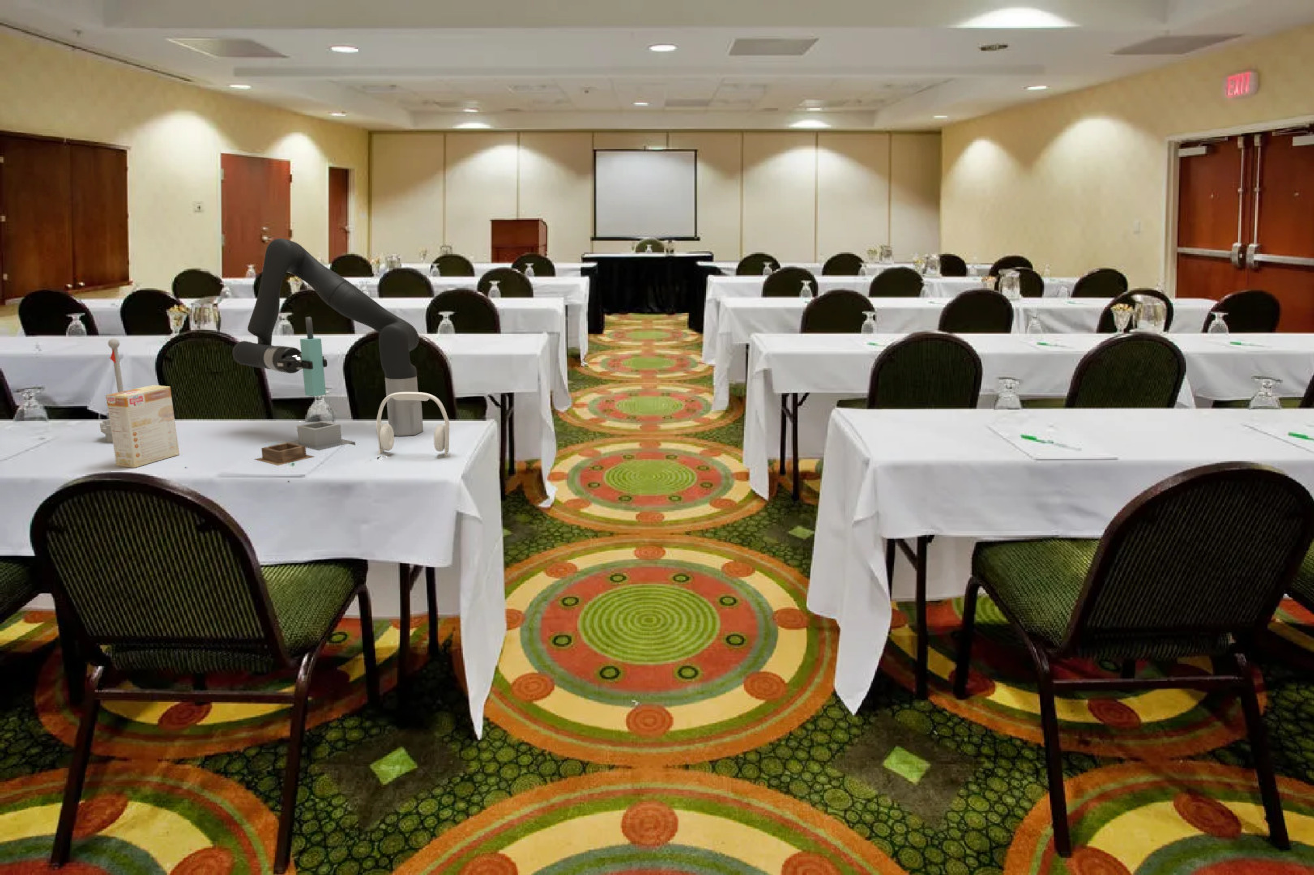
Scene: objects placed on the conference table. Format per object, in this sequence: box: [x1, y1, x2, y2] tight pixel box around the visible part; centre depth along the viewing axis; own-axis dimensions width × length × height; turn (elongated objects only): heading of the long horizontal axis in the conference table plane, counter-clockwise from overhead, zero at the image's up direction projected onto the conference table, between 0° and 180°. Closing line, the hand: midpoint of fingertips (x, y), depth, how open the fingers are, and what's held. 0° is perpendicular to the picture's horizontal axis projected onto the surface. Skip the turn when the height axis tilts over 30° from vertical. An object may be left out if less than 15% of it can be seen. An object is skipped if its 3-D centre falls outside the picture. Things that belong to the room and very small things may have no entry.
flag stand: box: [99, 338, 124, 443], centre depth 283 cm, size 13×13×30 cm
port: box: [285, 420, 356, 451], centre depth 275 cm, size 12×16×6 cm
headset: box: [375, 391, 450, 459], centre depth 261 cm, size 20×7×18 cm, turn 86°
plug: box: [299, 316, 327, 398], centre depth 269 cm, size 4×4×22 cm
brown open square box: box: [254, 441, 315, 466], centre depth 258 cm, size 11×11×4 cm
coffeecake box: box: [105, 384, 180, 469], centre depth 258 cm, size 15×7×20 cm, turn 159°
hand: (318, 364), depth 268 cm, fingers closed on plug, 4 cm apart
